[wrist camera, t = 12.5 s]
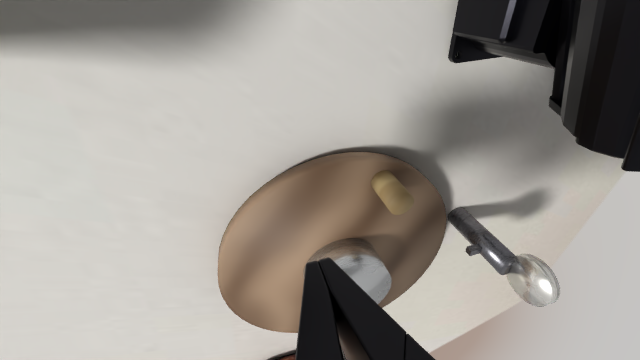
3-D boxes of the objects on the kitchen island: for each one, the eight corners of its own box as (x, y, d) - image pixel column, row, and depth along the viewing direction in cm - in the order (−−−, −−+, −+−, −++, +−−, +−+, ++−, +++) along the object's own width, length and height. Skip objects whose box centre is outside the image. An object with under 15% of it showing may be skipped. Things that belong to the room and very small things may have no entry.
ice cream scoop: (469, 197, 29) (569, 283, 20) (460, 226, 31) (547, 313, 23) (442, 204, 28) (533, 295, 20) (435, 233, 31) (514, 325, 22)
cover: (388, 240, 26) (405, 266, 23) (357, 291, 29) (369, 319, 26) (319, 234, 23) (330, 263, 20) (292, 291, 26) (299, 322, 23)
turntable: (476, 171, 26) (516, 201, 22) (383, 313, 36) (400, 349, 32) (242, 127, 18) (247, 162, 14) (204, 326, 28) (200, 377, 24)
